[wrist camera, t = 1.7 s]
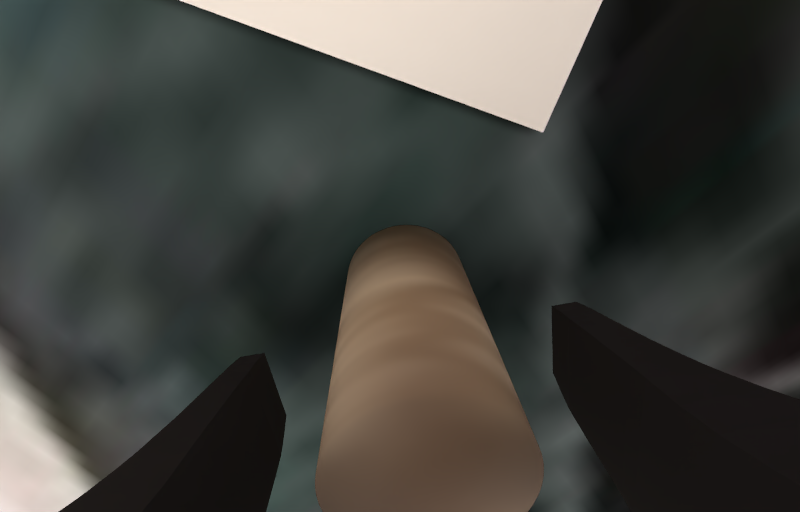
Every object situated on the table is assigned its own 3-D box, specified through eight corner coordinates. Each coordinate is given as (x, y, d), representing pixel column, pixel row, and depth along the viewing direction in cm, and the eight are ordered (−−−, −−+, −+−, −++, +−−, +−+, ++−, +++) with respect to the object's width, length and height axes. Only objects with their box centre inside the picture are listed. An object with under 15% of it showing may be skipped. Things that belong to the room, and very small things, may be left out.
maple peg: (479, 244, 14) (584, 426, 7) (438, 339, 16) (489, 570, 8) (366, 209, 14) (352, 369, 6) (334, 312, 15) (291, 538, 8)
